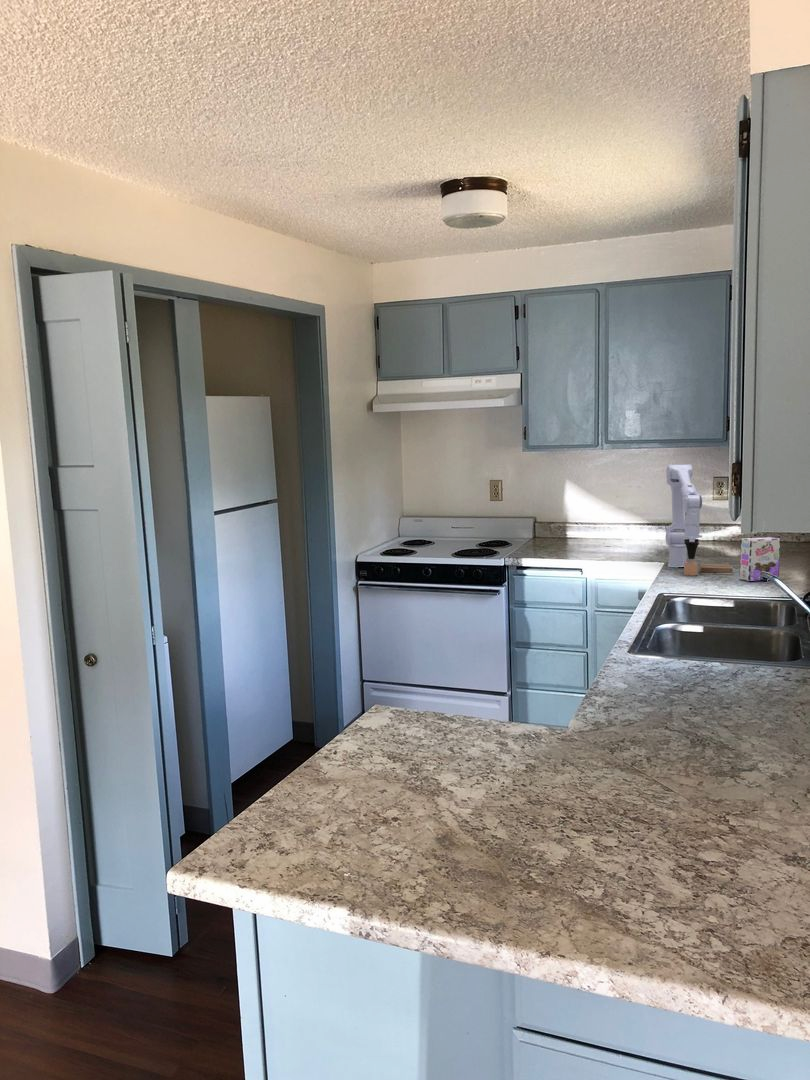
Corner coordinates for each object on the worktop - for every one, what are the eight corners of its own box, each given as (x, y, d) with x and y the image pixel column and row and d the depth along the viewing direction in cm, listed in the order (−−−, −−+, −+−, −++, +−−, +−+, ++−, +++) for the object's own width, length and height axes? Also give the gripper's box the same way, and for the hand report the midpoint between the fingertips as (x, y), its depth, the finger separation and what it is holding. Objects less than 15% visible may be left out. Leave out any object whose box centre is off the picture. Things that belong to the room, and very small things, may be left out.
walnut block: (699, 570, 353) (700, 563, 352) (730, 571, 349) (730, 564, 349) (700, 574, 341) (701, 567, 341) (732, 575, 338) (732, 568, 337)
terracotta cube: (684, 573, 343) (684, 561, 342) (697, 573, 341) (697, 561, 341) (684, 575, 338) (684, 563, 337) (697, 575, 336) (697, 563, 336)
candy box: (748, 582, 319) (750, 539, 317) (738, 580, 324) (740, 538, 323) (779, 580, 322) (781, 538, 321) (769, 578, 328) (770, 536, 326)
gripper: (703, 526, 329) (702, 560, 331) (701, 523, 343) (701, 555, 344) (684, 526, 331) (683, 559, 333) (683, 522, 345) (683, 555, 347)
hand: (691, 557), depth 339 cm, fingers open, 7 cm apart
